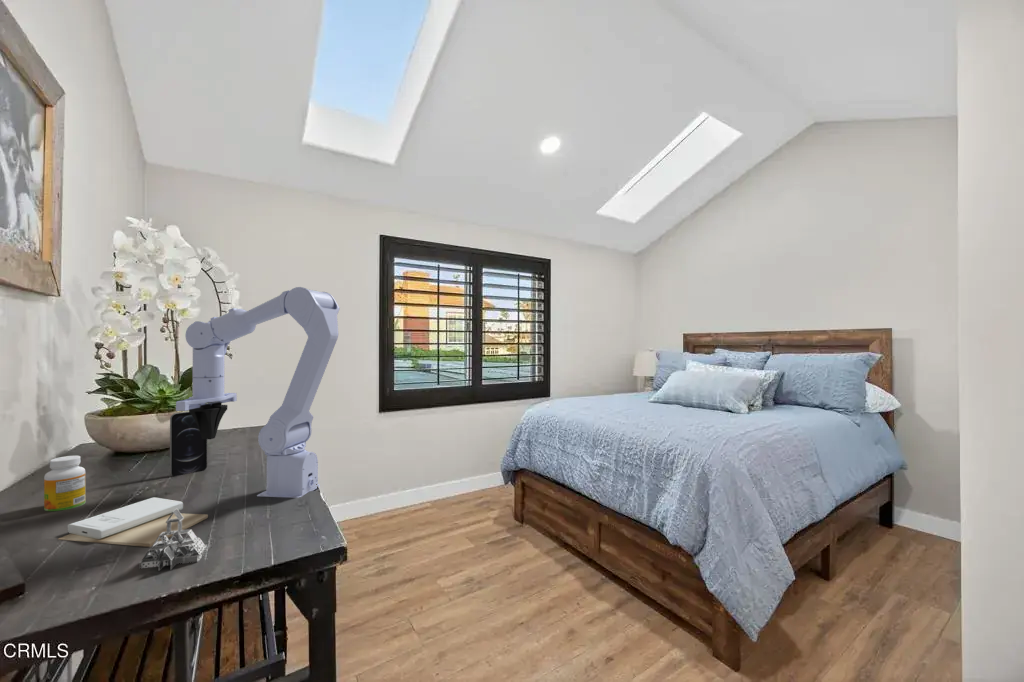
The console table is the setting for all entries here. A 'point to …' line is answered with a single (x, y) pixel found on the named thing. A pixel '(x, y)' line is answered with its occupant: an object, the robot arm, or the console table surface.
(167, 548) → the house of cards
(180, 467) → the smartphone
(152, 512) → the external hard drive
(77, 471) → the supplement bottle
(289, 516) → the console table surface
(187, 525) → the birch board
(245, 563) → the console table surface
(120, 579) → the console table surface
